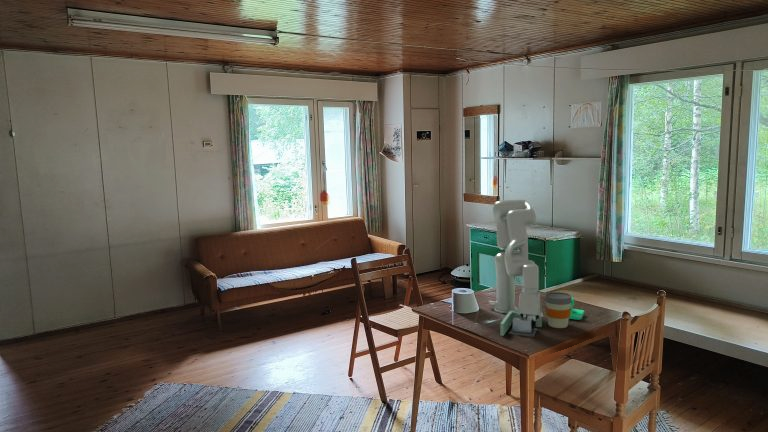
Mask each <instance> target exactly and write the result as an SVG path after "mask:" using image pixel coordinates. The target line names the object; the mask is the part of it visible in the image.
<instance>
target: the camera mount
mask: <svg viewBox="0 0 768 432" xmlns="http://www.w3.org/2000/svg"><path fill="white" fill-rule="evenodd" d="M574 305H575V297H572V303H571V313H570V317H569V320H572V319H573V320H577V321H578V320H580V321H581V320H582V319H583V318H582V317H584V314H585V310H584V309H577V308H573V307H574Z"/></svg>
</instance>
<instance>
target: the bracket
mask: <svg viewBox="0 0 768 432" xmlns="http://www.w3.org/2000/svg"><path fill="white" fill-rule="evenodd" d="M532 320H533V316H528V318H527V319H522V318H513V324H512V327H513V332H521V333H530V334H531V333H532V331H533V329H532Z"/></svg>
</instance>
